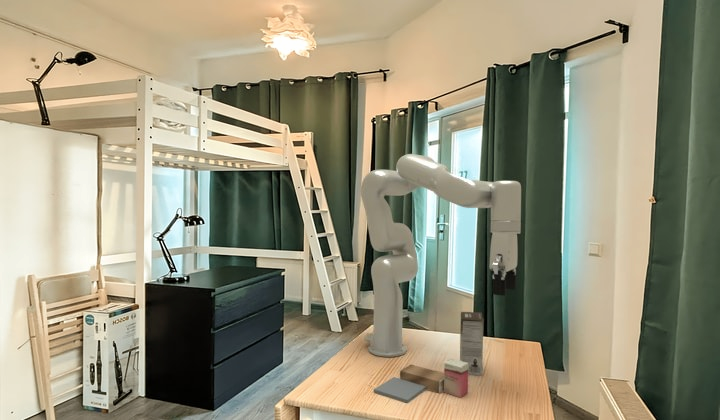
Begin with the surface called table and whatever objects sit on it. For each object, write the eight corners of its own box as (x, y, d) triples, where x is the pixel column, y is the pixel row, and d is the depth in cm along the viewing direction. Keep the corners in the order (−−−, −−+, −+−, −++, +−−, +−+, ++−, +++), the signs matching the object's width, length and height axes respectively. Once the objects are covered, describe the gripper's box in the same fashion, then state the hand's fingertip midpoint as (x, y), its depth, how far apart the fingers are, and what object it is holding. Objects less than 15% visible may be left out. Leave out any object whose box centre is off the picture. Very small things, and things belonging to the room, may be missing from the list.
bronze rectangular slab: (399, 381, 120) (400, 370, 120) (410, 374, 125) (410, 364, 125) (440, 393, 113) (440, 381, 113) (449, 385, 118) (450, 374, 118)
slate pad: (373, 392, 113) (373, 389, 113) (393, 379, 121) (393, 377, 121) (407, 403, 107) (407, 399, 107) (426, 389, 115) (426, 386, 115)
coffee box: (459, 362, 135) (460, 310, 135) (480, 364, 134) (481, 312, 133) (460, 373, 126) (461, 318, 126) (483, 375, 125) (484, 320, 124)
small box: (442, 392, 114) (443, 362, 113) (451, 387, 117) (451, 357, 117) (460, 398, 110) (461, 367, 110) (468, 392, 114) (469, 362, 113)
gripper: (500, 225, 125) (499, 285, 125) (480, 228, 111) (479, 295, 111) (528, 226, 121) (527, 288, 121) (511, 229, 106) (509, 299, 107)
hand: (504, 291), depth 116 cm, fingers open, 9 cm apart
